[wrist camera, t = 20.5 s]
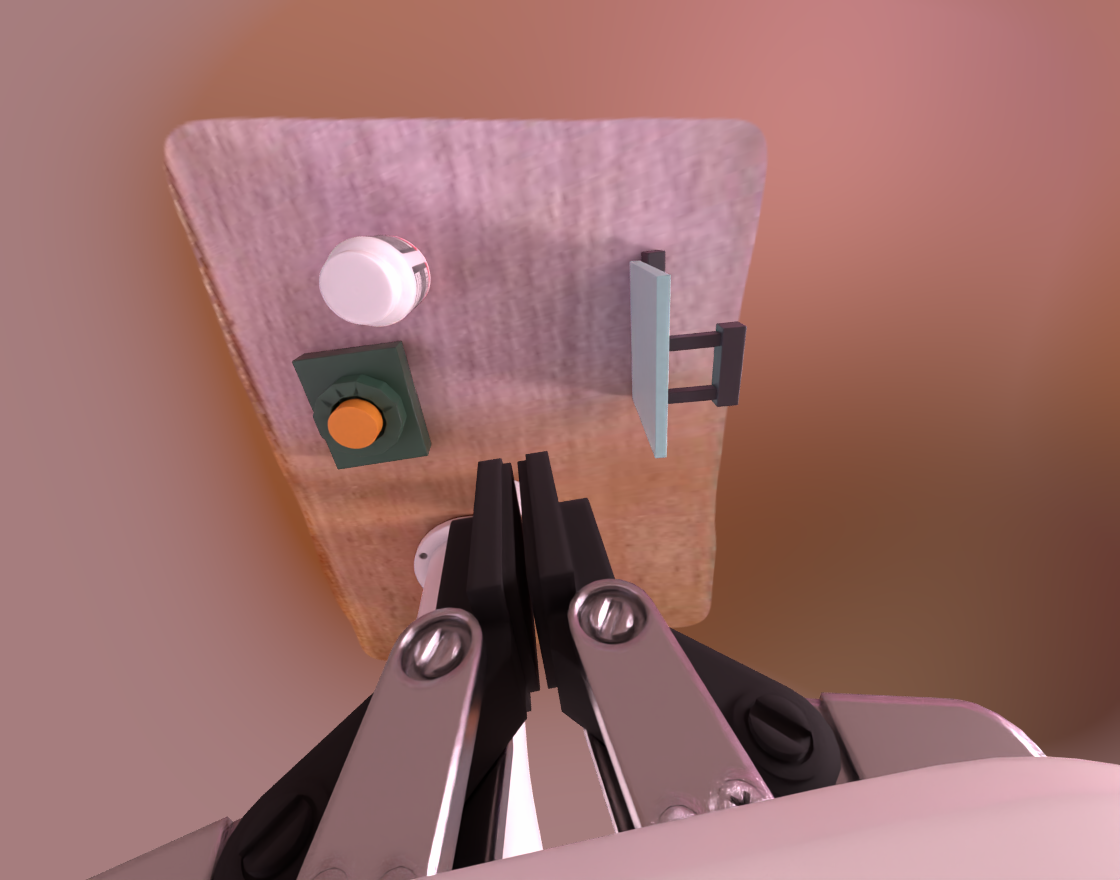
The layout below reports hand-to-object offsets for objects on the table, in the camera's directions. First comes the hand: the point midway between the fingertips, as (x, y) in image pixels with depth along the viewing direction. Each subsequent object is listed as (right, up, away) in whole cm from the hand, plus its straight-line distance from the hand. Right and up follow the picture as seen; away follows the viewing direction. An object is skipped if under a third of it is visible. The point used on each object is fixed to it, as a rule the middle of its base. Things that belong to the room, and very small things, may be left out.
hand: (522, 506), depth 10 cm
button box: (-16, +5, +26) cm, 31 cm away
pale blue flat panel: (+7, +8, +20) cm, 23 cm away
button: (-15, +3, +23) cm, 27 cm away
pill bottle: (-12, +15, +22) cm, 29 cm away
